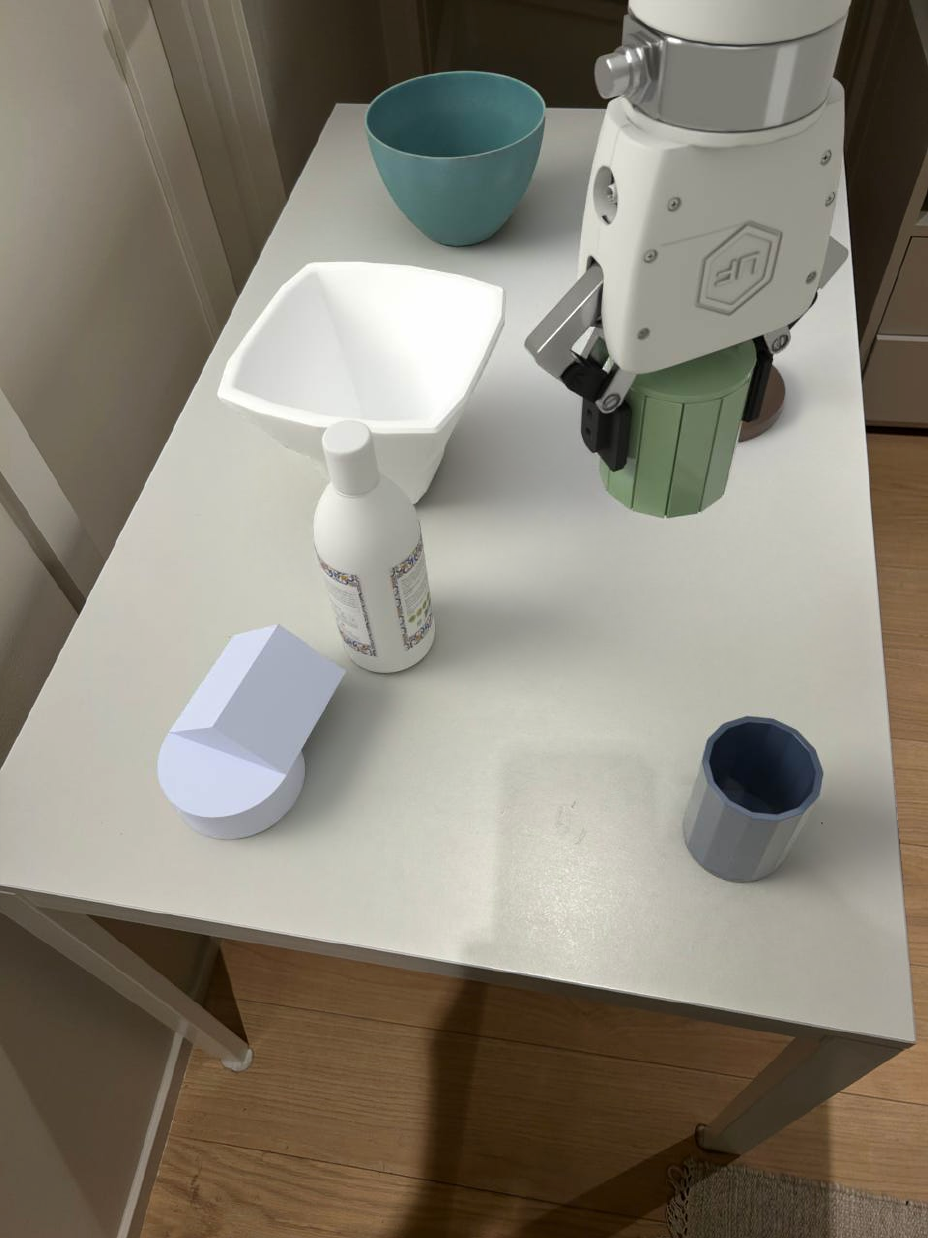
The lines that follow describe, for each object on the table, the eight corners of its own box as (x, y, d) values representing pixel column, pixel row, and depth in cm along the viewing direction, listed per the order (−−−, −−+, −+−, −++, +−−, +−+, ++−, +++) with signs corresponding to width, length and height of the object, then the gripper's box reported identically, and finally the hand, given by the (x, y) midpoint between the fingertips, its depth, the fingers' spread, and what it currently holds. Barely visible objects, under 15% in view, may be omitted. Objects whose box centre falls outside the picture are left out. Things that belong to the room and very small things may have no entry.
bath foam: (429, 594, 72) (398, 387, 56) (442, 667, 68) (413, 467, 52) (340, 608, 71) (283, 405, 55) (347, 683, 67) (289, 487, 51)
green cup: (739, 443, 51) (768, 319, 45) (713, 530, 48) (740, 409, 41) (619, 418, 53) (631, 296, 47) (585, 500, 50) (592, 380, 43)
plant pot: (538, 177, 108) (538, 63, 98) (551, 266, 97) (553, 148, 87) (382, 188, 108) (367, 76, 99) (378, 279, 97) (361, 163, 88)
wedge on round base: (245, 661, 69) (147, 812, 62) (221, 606, 64) (110, 765, 57) (353, 696, 67) (263, 858, 60) (337, 642, 61) (236, 813, 54)
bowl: (525, 416, 83) (523, 278, 72) (459, 579, 72) (444, 446, 61) (333, 385, 87) (303, 249, 76) (244, 534, 77) (194, 402, 66)
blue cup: (794, 804, 60) (830, 734, 52) (777, 898, 56) (812, 837, 49) (695, 774, 61) (716, 702, 54) (672, 864, 58) (691, 800, 50)
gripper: (562, 165, 30) (553, 534, 44) (994, 39, 33) (857, 419, 48) (468, 75, 34) (487, 438, 48) (859, -29, 38) (770, 339, 52)
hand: (671, 427), depth 48 cm, fingers closed on green cup, 7 cm apart
